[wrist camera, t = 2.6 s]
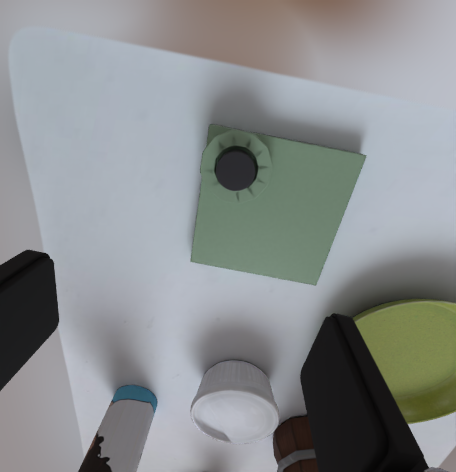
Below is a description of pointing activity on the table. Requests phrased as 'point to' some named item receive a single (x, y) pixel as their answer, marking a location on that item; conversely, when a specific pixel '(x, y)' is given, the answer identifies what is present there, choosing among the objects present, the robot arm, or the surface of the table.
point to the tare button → (235, 170)
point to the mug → (294, 446)
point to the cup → (122, 432)
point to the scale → (273, 206)
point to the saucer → (415, 354)
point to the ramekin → (235, 404)
